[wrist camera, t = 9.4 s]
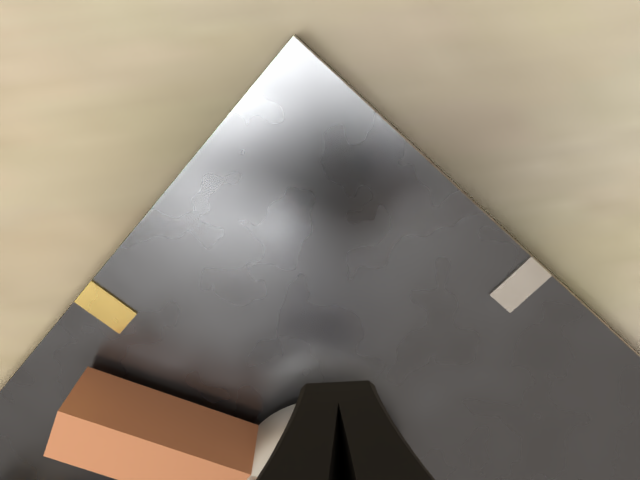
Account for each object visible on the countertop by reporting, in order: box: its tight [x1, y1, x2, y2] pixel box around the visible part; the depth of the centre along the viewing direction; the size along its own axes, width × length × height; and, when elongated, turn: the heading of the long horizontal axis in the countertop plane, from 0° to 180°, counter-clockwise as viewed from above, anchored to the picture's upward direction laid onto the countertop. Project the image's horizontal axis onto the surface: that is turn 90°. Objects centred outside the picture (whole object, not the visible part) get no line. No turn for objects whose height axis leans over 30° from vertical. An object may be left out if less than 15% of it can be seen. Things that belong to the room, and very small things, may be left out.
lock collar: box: [43, 367, 296, 480], centre depth 20 cm, size 12×6×2 cm, turn 67°
